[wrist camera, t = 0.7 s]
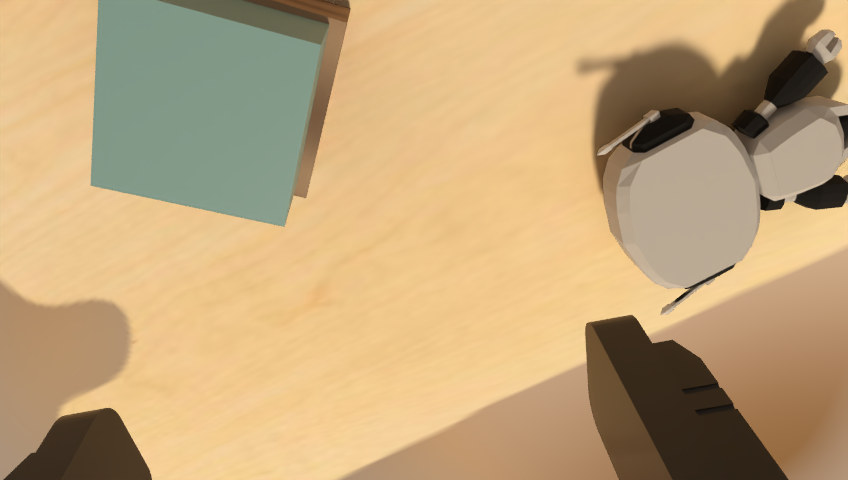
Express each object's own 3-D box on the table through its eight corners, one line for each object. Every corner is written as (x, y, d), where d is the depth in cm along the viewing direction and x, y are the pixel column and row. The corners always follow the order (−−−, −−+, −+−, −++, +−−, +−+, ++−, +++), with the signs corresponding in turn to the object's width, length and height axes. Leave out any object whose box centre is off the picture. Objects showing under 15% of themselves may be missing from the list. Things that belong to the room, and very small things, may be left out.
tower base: (173, -46, 30) (139, -40, 26) (350, 8, 32) (347, 22, 28) (155, 123, 34) (123, 154, 30) (314, 163, 36) (305, 198, 32)
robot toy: (801, 7, 35) (563, 136, 36) (863, 16, 31) (593, 160, 32) (835, 183, 40) (628, 289, 42) (892, 210, 36) (660, 326, 37)
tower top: (144, -28, 26) (99, -16, 22) (329, 24, 28) (321, 44, 23) (132, 145, 30) (90, 185, 25) (297, 182, 31) (284, 226, 27)
